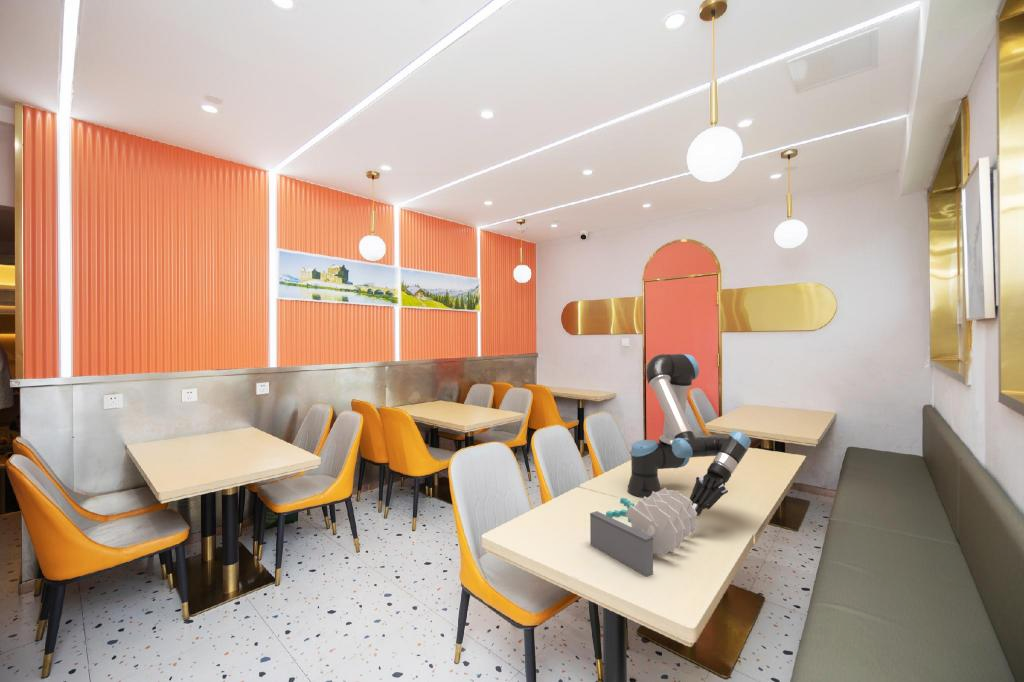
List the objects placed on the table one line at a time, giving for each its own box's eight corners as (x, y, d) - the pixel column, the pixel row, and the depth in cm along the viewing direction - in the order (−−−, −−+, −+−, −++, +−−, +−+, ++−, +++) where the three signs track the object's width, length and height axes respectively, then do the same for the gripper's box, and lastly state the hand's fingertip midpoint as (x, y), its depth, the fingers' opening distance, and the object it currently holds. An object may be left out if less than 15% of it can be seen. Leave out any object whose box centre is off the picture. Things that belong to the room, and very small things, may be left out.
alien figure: (606, 518, 171) (657, 529, 160) (606, 512, 171) (657, 523, 160) (621, 502, 188) (669, 511, 177) (621, 497, 188) (669, 506, 177)
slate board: (590, 544, 147) (590, 513, 147) (597, 542, 149) (597, 511, 149) (645, 576, 127) (645, 539, 127) (653, 573, 128) (653, 537, 129)
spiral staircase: (688, 548, 152) (661, 573, 133) (644, 516, 163) (614, 534, 144) (711, 505, 148) (686, 524, 129) (664, 475, 159) (635, 489, 140)
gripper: (742, 479, 154) (708, 534, 148) (713, 469, 166) (680, 520, 160) (731, 466, 152) (696, 521, 146) (702, 457, 164) (668, 508, 158)
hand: (688, 521), depth 153 cm, fingers closed
